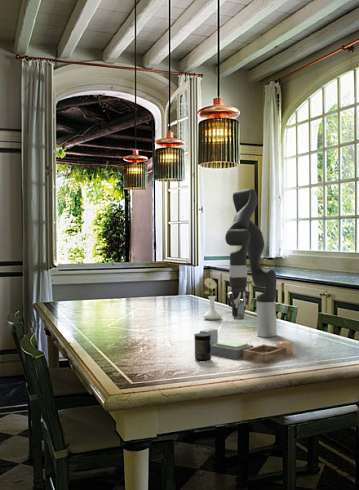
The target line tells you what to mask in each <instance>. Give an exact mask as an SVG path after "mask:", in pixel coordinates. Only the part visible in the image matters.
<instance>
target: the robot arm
mask: <svg viewBox="0 0 359 490" xmlns="http://www.w3.org/2000/svg"><path fill="white" fill-rule="evenodd" d="M232 201H233V205H234V209H235V211H236V214H235V215H234V218H233V221H232V224H231V225H230V226H229V228H228V229H227V231H226V232H225V242H226V244H227V245H228V246H233V247H235V246H237V247H239V246H240V247H241V248H240V249H238V250H235V251H231V252H230V254H229V273H228V274H229V287H230V288H231V289H230V292H226V300H227V305H228V307H231V314H232V318H234V317H237V316H238V308H237V306H238V303H239V302H241V303H244V316H245V313H246V306H248V305H249V301H250V296H251V292H250V291H249V290H247V289H246V288H248V267H247V256H248V261H249V265H250V273H251V279H252V282H253V285H254V286H255V287H256V288H263V289H264V288H265V290H264V292H263V293H261V294H258V295H256V334H257V337H261V338H262V337H263V338H273V337H276V336H277V335H278V333H277V327H278V326H277V316H276V296H277V274H276V272H275V270H274V269H268V268H267V269H265V268H264V269H263V268H262V267H261V257H262V254H263V251H264V250H265V249H264V248H265V240H264V235H263V232H262V230H261V229H260V228H259V227H258V226H257V225H256V223H254V222H253V220H251V218H252V216H253V214H254V212H255V210H256V208H257V206H258V201H259V199H258V195H257V191H256V189H254V188H247V189H246V188H245V189H241V190H236V191H234V192H233V194H232ZM234 303H235V304H234Z"/></svg>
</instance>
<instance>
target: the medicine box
mask: <svg viewBox="0 0 359 490" xmlns="http://www.w3.org/2000/svg"><path fill="white" fill-rule="evenodd" d="M199 333H209V334H211V345H214V344H216V343H218V342H219V339H218V329H215V328H207V329H202V330H199Z"/></svg>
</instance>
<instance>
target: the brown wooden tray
mask: <svg viewBox="0 0 359 490" xmlns="http://www.w3.org/2000/svg"><path fill="white" fill-rule="evenodd" d="M286 357H287V356H286V348H280V347H276V345H269V344H265V343H264V344H261V345H256V346H253V347H252V348H249V349H245V350H243V358H242V360H248V361H253V362H258V363H262V364H267V363H270V362H273V361H277V360H280V359H283V358H286Z"/></svg>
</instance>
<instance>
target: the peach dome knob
mask: <svg viewBox="0 0 359 490" xmlns="http://www.w3.org/2000/svg"><path fill="white" fill-rule="evenodd" d="M275 346H276V347H280V348H286V357H292V356H293V355H294V342H293V341H290V340H278V341H275Z"/></svg>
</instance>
